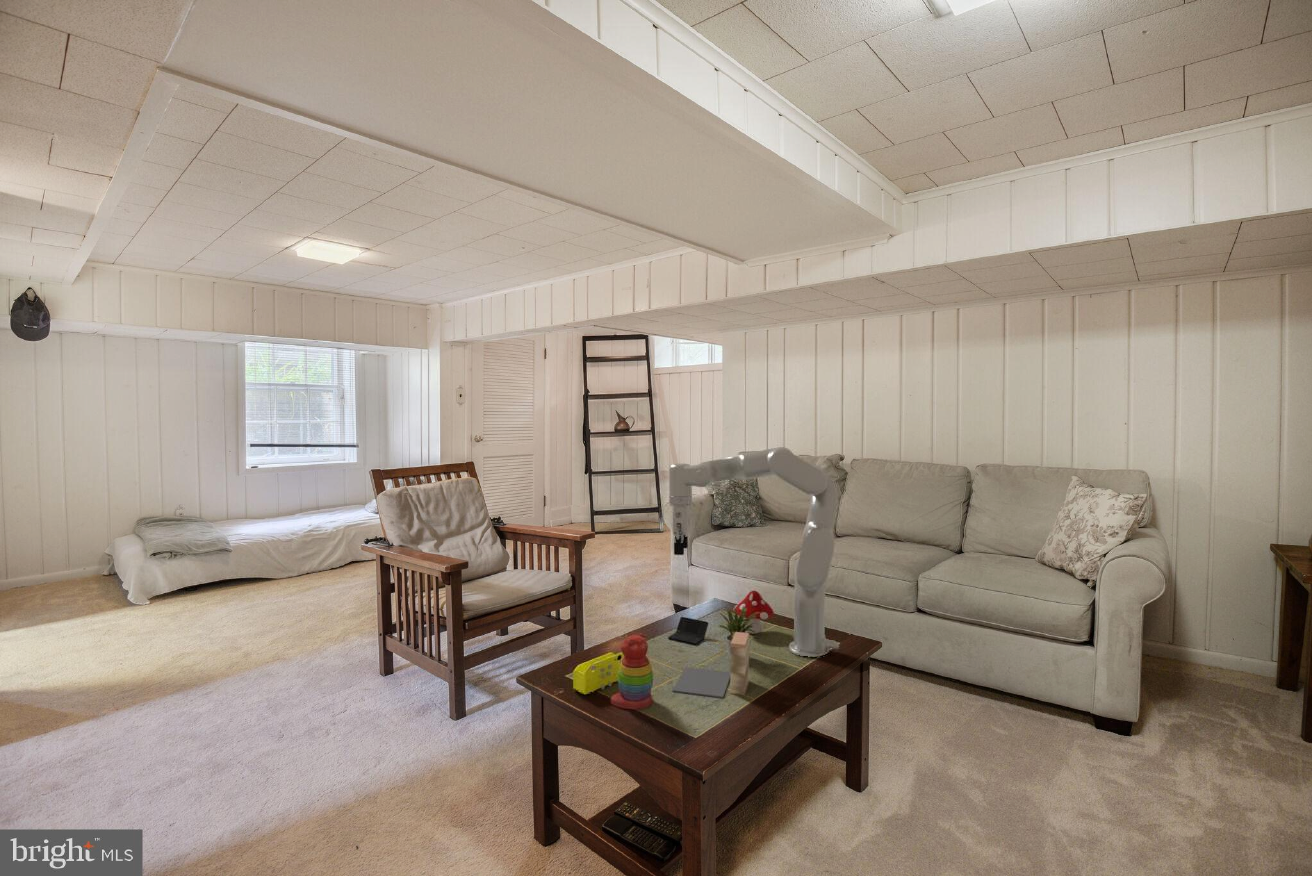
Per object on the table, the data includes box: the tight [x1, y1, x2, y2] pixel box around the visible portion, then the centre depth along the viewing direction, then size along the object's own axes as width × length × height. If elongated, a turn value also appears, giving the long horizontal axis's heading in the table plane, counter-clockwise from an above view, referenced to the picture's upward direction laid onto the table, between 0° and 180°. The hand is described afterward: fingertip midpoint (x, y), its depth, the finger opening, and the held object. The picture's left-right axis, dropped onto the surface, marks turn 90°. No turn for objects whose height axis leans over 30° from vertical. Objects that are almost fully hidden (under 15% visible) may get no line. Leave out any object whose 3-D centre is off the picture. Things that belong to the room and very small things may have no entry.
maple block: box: [729, 632, 750, 696], centre depth 172 cm, size 4×9×14 cm, turn 164°
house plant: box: [717, 606, 760, 660], centre depth 191 cm, size 14×14×16 cm
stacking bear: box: [609, 633, 654, 710], centre depth 164 cm, size 11×10×18 cm
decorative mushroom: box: [732, 590, 775, 635], centre depth 214 cm, size 14×14×15 cm
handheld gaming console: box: [667, 616, 709, 647], centre depth 209 cm, size 12×7×10 cm
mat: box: [672, 666, 730, 699], centre depth 175 cm, size 14×16×1 cm
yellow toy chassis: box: [572, 651, 624, 695], centre depth 174 cm, size 16×6×8 cm, turn 136°
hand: (680, 551), depth 206 cm, fingers open, 9 cm apart
